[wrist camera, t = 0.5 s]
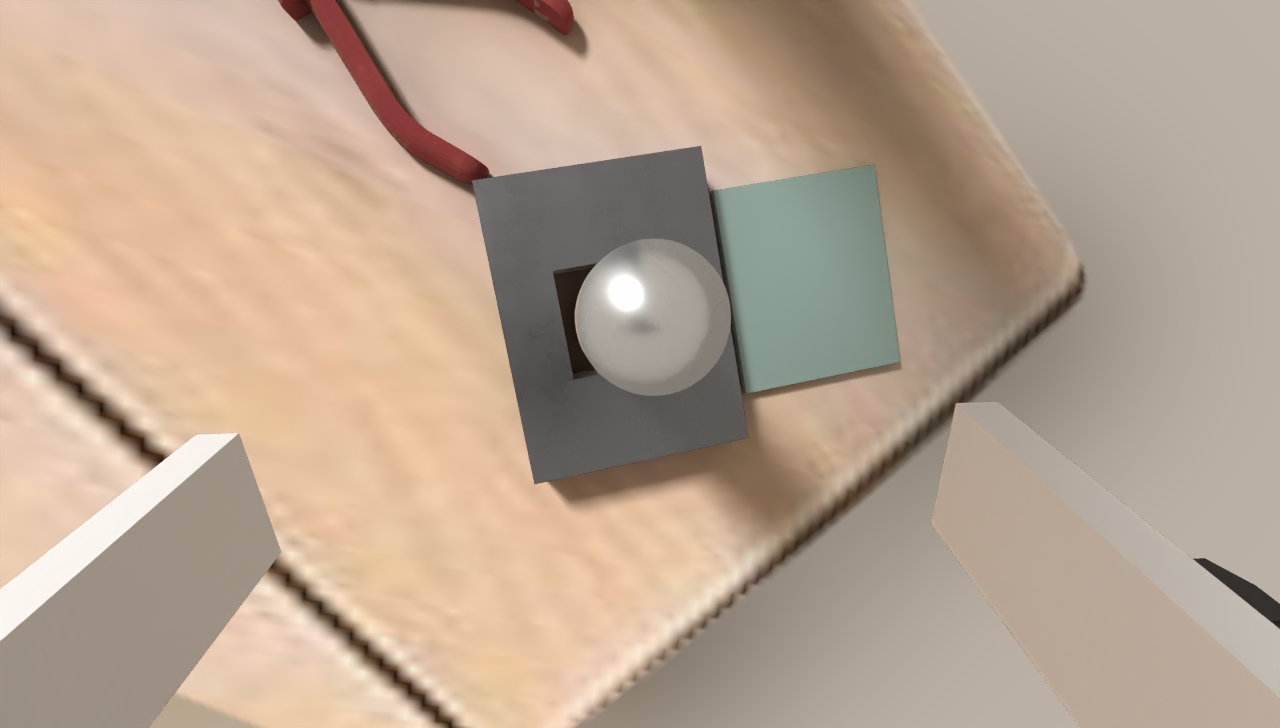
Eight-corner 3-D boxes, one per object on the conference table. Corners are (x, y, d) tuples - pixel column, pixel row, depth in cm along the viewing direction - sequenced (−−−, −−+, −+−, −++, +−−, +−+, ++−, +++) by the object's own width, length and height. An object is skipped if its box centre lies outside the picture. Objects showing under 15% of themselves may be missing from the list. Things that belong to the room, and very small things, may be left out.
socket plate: (479, 192, 33) (471, 180, 30) (688, 160, 34) (700, 145, 31) (536, 469, 35) (534, 484, 32) (732, 427, 36) (748, 437, 33)
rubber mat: (710, 192, 35) (713, 190, 34) (869, 166, 36) (874, 164, 35) (743, 392, 36) (746, 393, 35) (894, 360, 37) (900, 361, 37)
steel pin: (559, 278, 34) (562, 252, 19) (647, 263, 34) (717, 226, 20) (576, 367, 34) (592, 409, 20) (662, 350, 35) (742, 379, 20)
